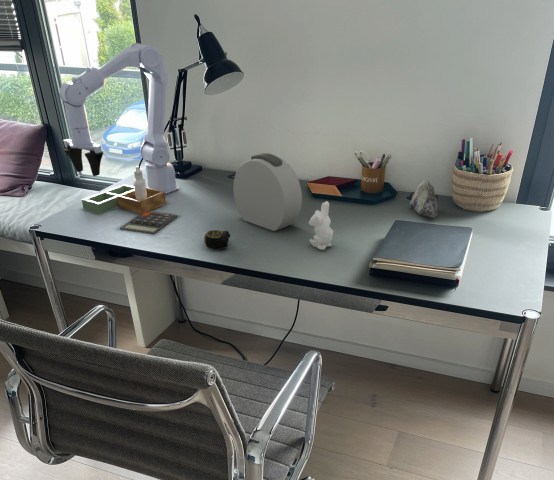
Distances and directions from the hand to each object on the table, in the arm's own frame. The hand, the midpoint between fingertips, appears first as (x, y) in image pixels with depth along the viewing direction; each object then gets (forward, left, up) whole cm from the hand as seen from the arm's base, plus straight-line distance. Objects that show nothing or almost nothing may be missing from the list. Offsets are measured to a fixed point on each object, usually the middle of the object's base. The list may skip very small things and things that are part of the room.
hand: (88, 173), depth 176 cm
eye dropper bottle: (-8, +13, -10) cm, 19 cm away
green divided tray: (-5, +4, -10) cm, 12 cm away
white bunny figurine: (-12, +78, -11) cm, 80 cm away
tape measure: (+3, +54, -11) cm, 55 cm away
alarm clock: (-19, +55, -11) cm, 59 cm away
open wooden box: (-8, +13, -10) cm, 19 cm away
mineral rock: (-51, +92, -11) cm, 106 cm away
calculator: (+1, +25, -11) cm, 28 cm away
